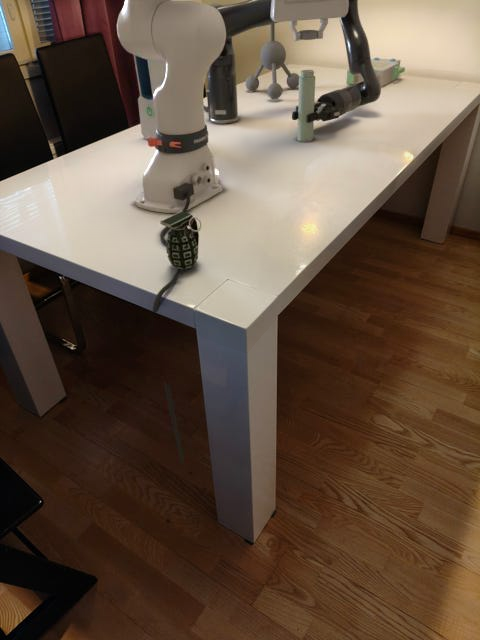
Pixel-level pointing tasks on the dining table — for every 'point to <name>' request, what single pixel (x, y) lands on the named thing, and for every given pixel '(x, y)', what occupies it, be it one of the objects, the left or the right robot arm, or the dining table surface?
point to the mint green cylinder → (306, 104)
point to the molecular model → (273, 67)
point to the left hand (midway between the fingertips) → (308, 39)
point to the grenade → (182, 240)
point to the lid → (308, 34)
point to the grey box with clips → (380, 71)
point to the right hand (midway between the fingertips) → (300, 117)
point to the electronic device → (148, 92)
